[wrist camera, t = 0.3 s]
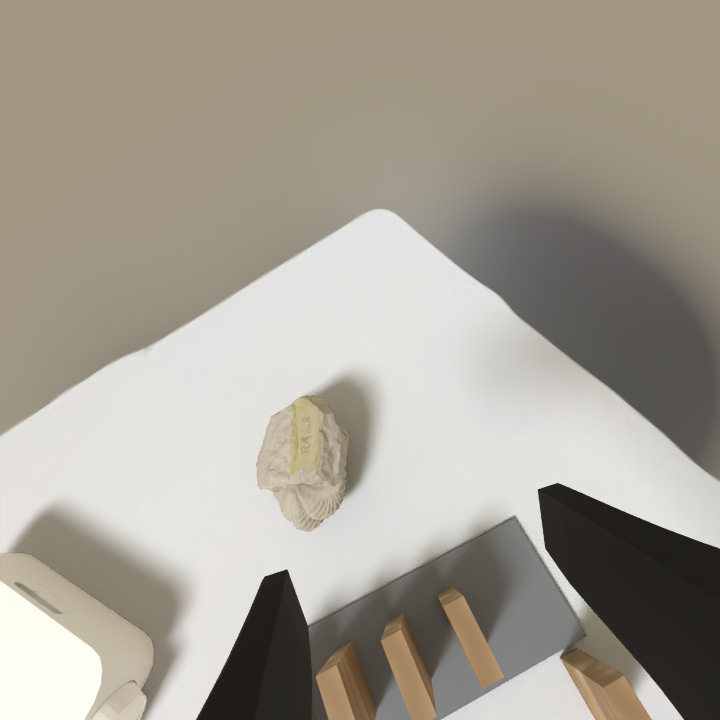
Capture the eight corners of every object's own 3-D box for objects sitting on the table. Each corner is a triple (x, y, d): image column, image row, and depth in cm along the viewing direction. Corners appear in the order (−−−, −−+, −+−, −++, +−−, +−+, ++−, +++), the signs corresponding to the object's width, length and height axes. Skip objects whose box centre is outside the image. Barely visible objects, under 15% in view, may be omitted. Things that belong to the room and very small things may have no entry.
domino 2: (403, 613, 34) (401, 629, 27) (431, 679, 32) (437, 716, 24) (387, 622, 34) (380, 640, 27) (414, 688, 31) (414, 728, 24)
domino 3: (452, 586, 34) (463, 595, 27) (483, 649, 32) (504, 677, 25) (436, 595, 34) (443, 606, 27) (467, 659, 32) (483, 689, 25)
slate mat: (584, 634, 32) (586, 635, 32) (277, 810, 29) (276, 814, 29) (513, 518, 37) (514, 518, 36) (242, 662, 34) (241, 663, 34)
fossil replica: (286, 546, 38) (376, 500, 40) (267, 548, 31) (378, 491, 32) (248, 438, 43) (329, 401, 44) (223, 417, 35) (322, 373, 37)
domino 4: (576, 648, 32) (623, 675, 25) (620, 721, 29) (686, 774, 22) (559, 657, 32) (602, 687, 24) (602, 732, 29) (663, 789, 22)
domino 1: (352, 641, 33) (336, 664, 26) (377, 709, 31) (367, 756, 24) (335, 649, 33) (315, 676, 26) (359, 719, 31) (344, 769, 24)
